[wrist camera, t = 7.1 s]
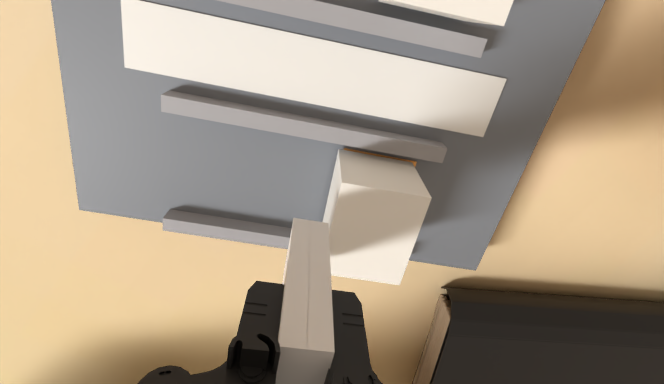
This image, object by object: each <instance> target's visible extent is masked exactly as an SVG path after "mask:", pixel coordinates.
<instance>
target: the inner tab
mask: <svg viewBox="0 0 664 384" xmlns="http://www.w3.org/2000/svg"><path fill="white" fill-rule="evenodd" d="M431 199H432V198H431V196H430V194H429V192H428V190H427V189H426V187H425V185H424V183H423V181H422V179H421V178H420V176H419V174H418V172H417V170H416V169H415V167H414V165H413V163H412V162H407V161H402V160H396V159H391V158H385V157H380V156H374V155H369V154H363V153H358V152H352V151H347V150H341V149H338V154H337V159H336V163H335V168H334V172H333V177H332V181H331V186H330V190H329V195H328V199H327V204H326V208H325V213H324V217H323V222H325V223H328V225H329V246H330V266H331V275H333V276H339V277H346V278H353V279H360V280H367V281H374V282H381V283H388V284H395V285H400V283H401V280H402V277H403V275H404V272H405V269H406V267H407V264H408V261H409V258H410V256H411V253H412V250H413V248H414V245H415V242H416V239H417V237H418V234H419V231H420V229H421V226H422V223H423V220H424V218H425V215H426V212H427V210H428V207H429V204H430V201H431Z"/></svg>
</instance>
